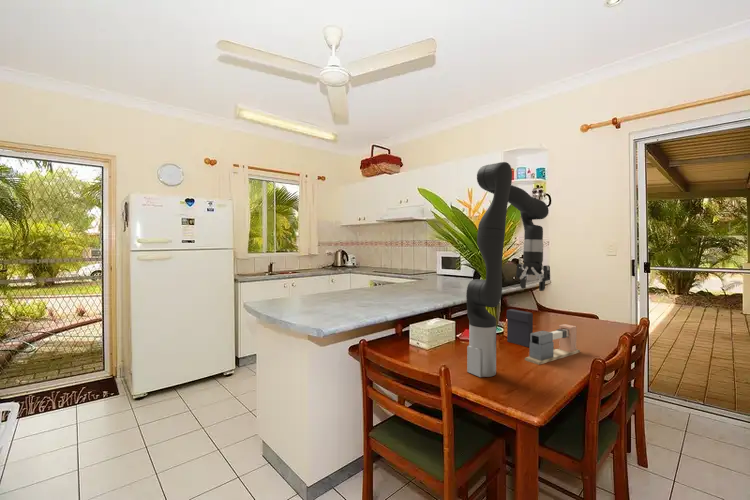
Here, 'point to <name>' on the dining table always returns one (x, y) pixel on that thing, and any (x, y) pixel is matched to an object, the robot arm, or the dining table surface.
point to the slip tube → (560, 333)
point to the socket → (568, 339)
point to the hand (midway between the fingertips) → (532, 289)
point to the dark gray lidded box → (519, 327)
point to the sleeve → (541, 345)
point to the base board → (557, 355)
